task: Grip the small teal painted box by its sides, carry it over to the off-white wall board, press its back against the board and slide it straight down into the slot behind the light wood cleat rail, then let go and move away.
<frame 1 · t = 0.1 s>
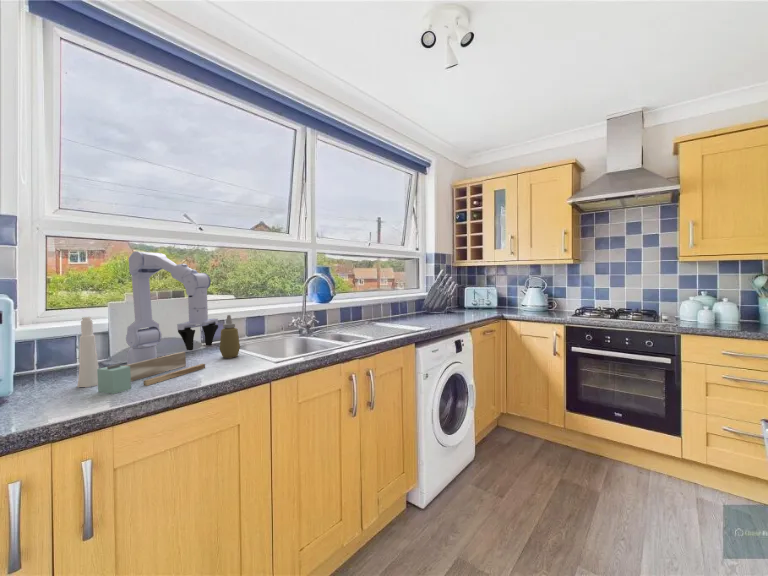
hand: (199, 347, 116), 10 cm above the table, tool pointing down, fingers open, 7 cm apart
squeeze bottle: (230, 357, 146), on the table
cleat board: (166, 374, 120), on the table
cosmetic bottle: (89, 385, 110), on the table
teal box: (114, 390, 104), on the table
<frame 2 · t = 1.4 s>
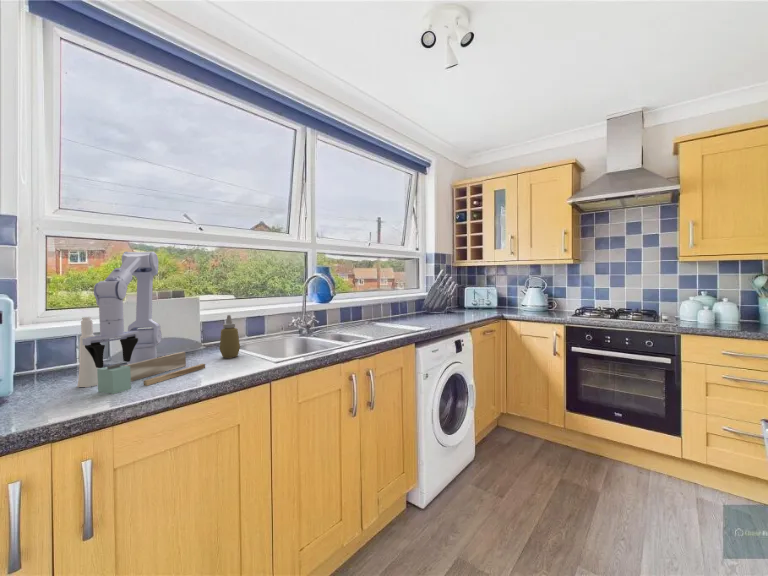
hand: (113, 364, 104), 8 cm above the table, tool pointing down, fingers open, 7 cm apart
nothing on the table moved.
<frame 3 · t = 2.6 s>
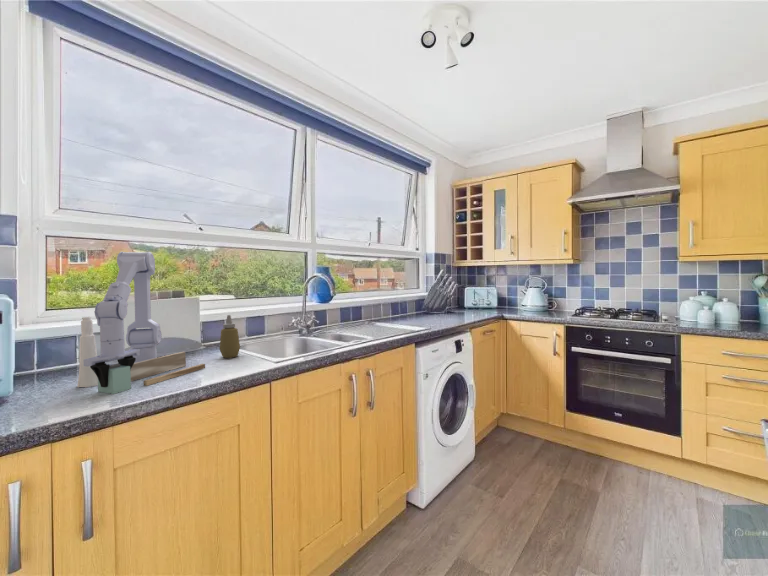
hand: (114, 383, 104), 2 cm above the table, tool pointing down, fingers closed on teal box, 5 cm apart
teal box: (114, 390, 104), on the table, touching gripper
everything else where it was.
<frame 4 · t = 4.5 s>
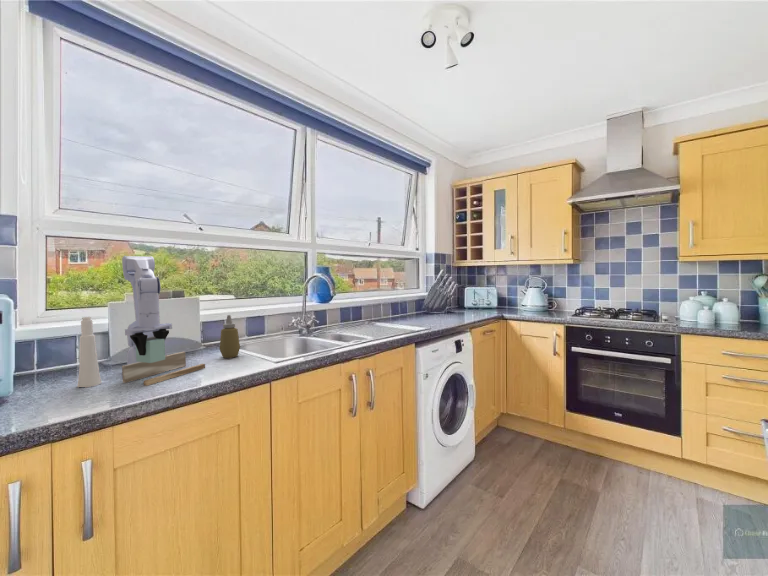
hand: (150, 353, 114), 9 cm above the table, tool pointing down, fingers closed on teal box, 5 cm apart
teal box: (151, 360, 114), point 6 cm above the table, touching gripper
everything else where it was.
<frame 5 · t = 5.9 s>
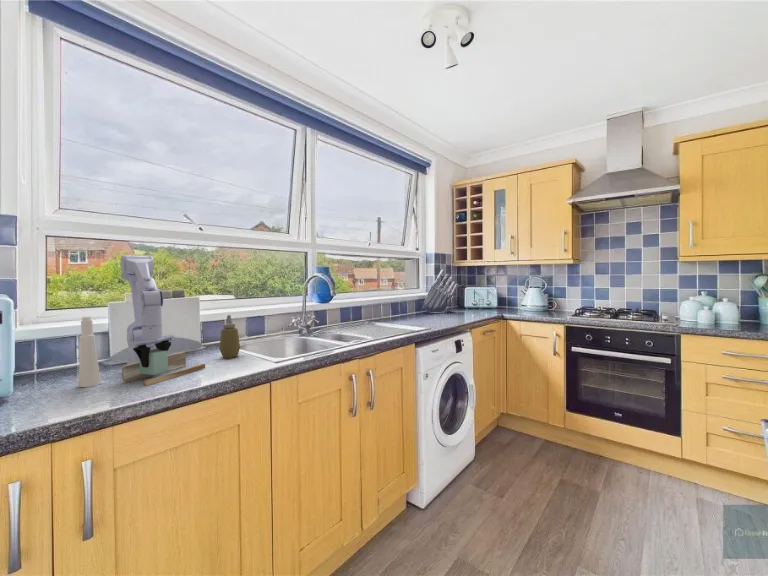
hand: (153, 364, 116), 4 cm above the table, tool pointing down, fingers closed on teal box, 5 cm apart
teal box: (154, 372, 116), point 2 cm above the table, touching cleat board, gripper
everything else where it was.
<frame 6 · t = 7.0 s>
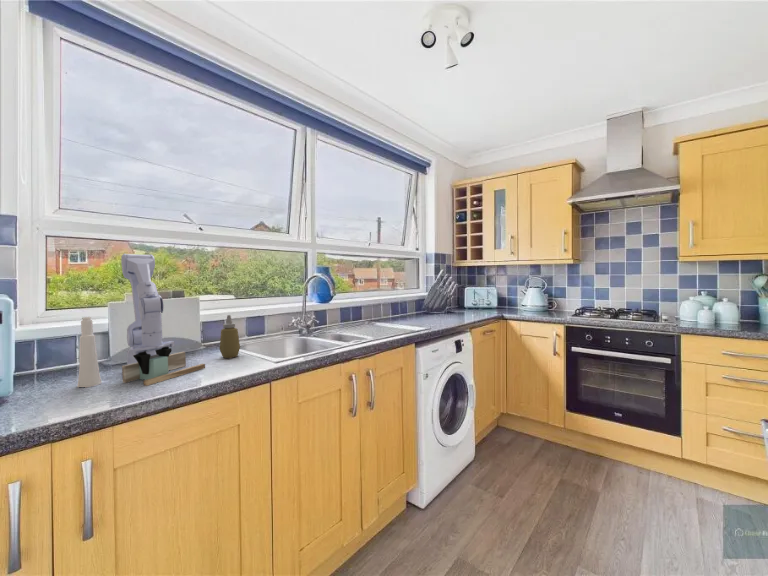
hand: (153, 371, 116), 2 cm above the table, tool pointing down, fingers closed on teal box, 5 cm apart
teal box: (154, 377, 116), on the table, touching gripper
everything else where it was.
when the fingers open (2 cm above the table, at t = 7.0 s): teal box stays where it is, on the table.
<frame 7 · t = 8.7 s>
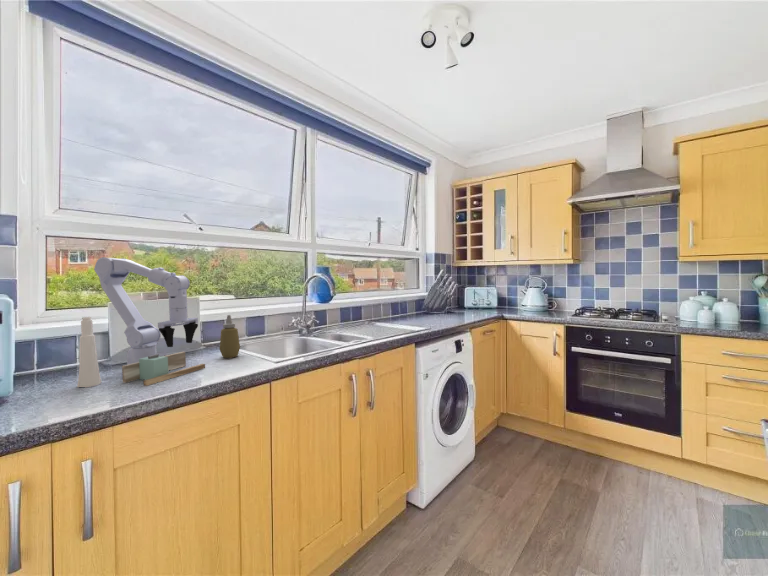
hand: (179, 344, 125), 9 cm above the table, tool pointing down, fingers open, 7 cm apart
teal box: (154, 378, 116), on the table
everything else where it was.
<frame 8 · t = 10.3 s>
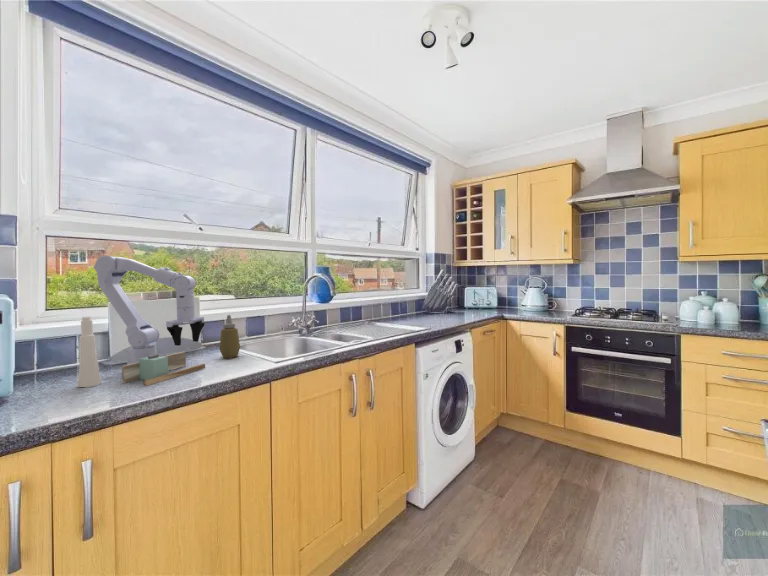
hand: (186, 343, 128), 9 cm above the table, tool pointing down, fingers open, 7 cm apart
nothing on the table moved.
at the end: teal box inside the target area on the cleat board (4.0 cm from its centre), point 0.0 cm above the cleat board's base; teal box tilted 0°; the gripper is holding nothing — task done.
